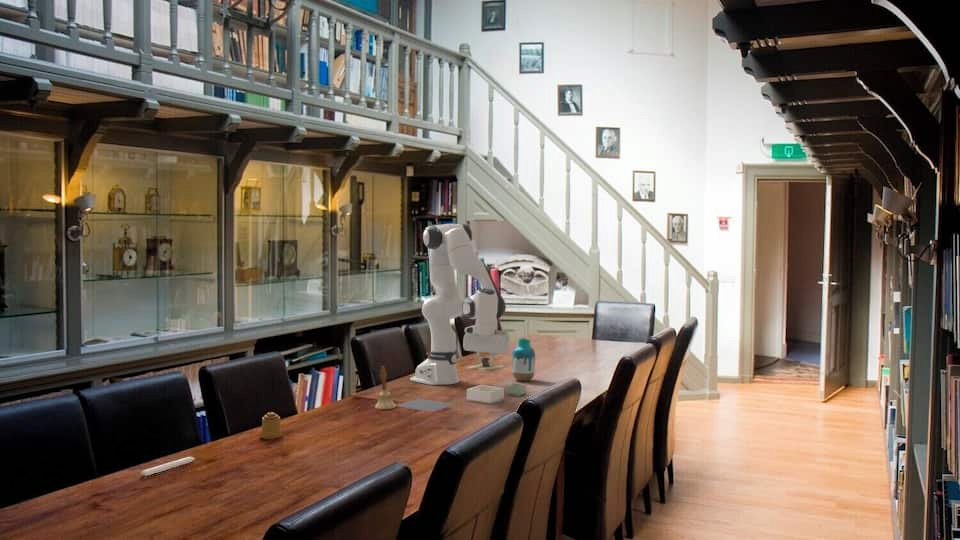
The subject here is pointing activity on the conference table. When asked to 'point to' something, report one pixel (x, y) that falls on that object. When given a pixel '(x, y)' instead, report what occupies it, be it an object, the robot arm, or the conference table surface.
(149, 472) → the marker
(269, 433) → the ornamental finial
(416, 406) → the mat
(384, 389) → the hand bell
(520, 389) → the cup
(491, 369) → the lid
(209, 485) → the conference table surface
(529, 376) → the vase
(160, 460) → the conference table surface
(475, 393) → the dish
